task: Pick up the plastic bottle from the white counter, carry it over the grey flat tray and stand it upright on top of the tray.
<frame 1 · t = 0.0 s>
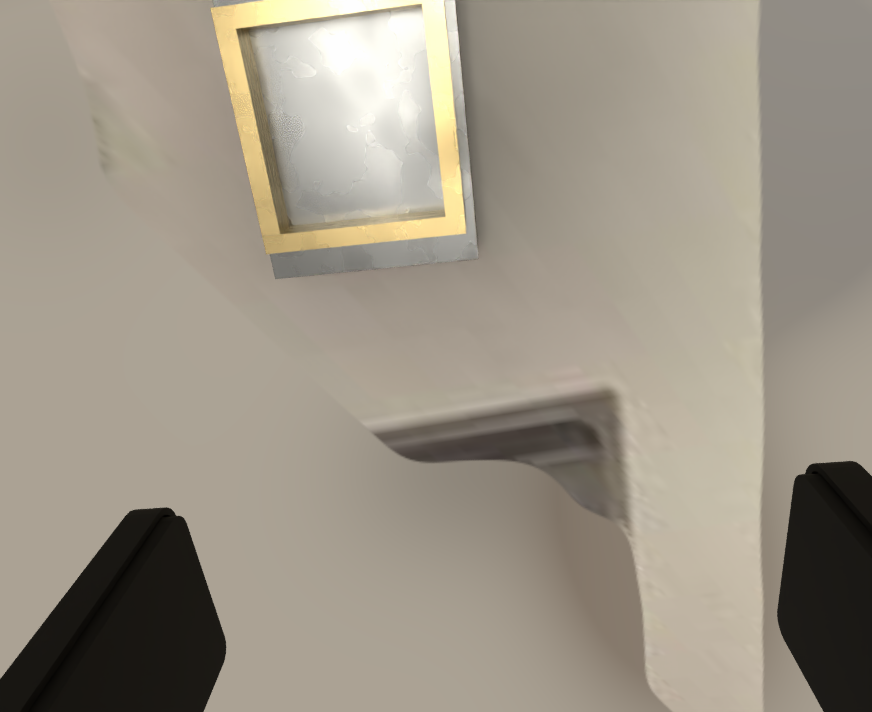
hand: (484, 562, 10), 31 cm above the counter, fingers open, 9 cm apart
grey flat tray: (361, 119, 37), on the counter
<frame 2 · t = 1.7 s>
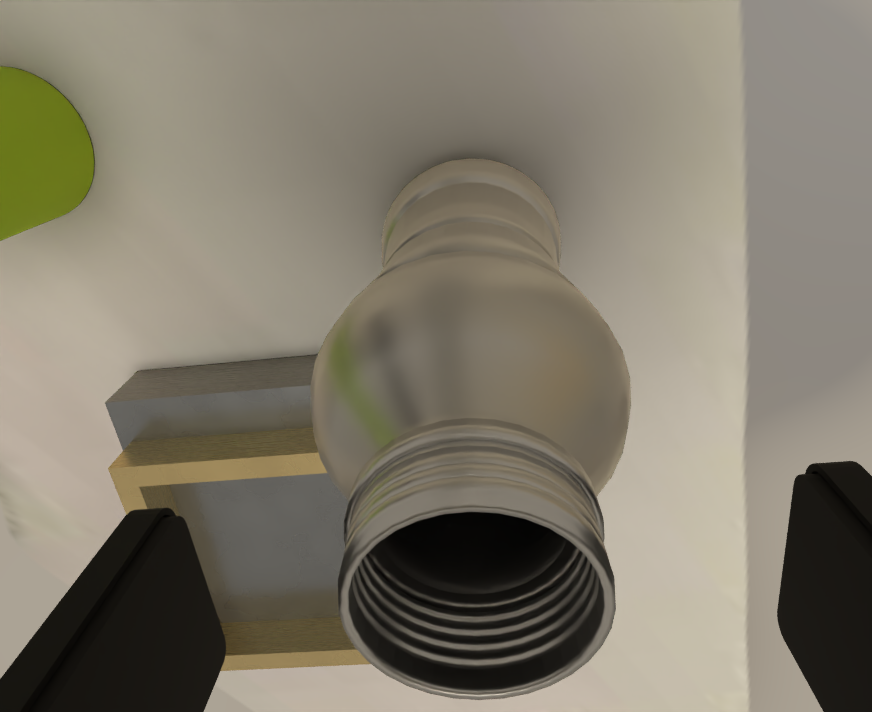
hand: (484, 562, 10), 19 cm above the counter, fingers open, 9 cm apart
soap dispenser: (16, 153, 26), on the counter
plastic bottle: (469, 228, 27), on the counter
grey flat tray: (298, 500, 33), on the counter
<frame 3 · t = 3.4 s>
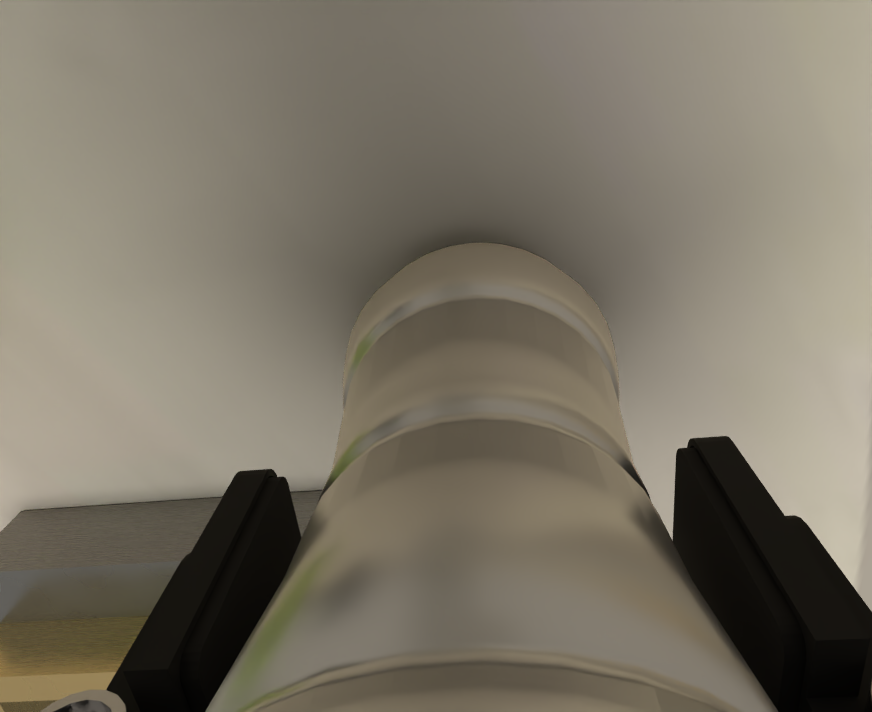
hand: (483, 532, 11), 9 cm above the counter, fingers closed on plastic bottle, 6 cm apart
plastic bottle: (476, 332, 19), on the counter, touching gripper
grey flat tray: (246, 671, 25), on the counter
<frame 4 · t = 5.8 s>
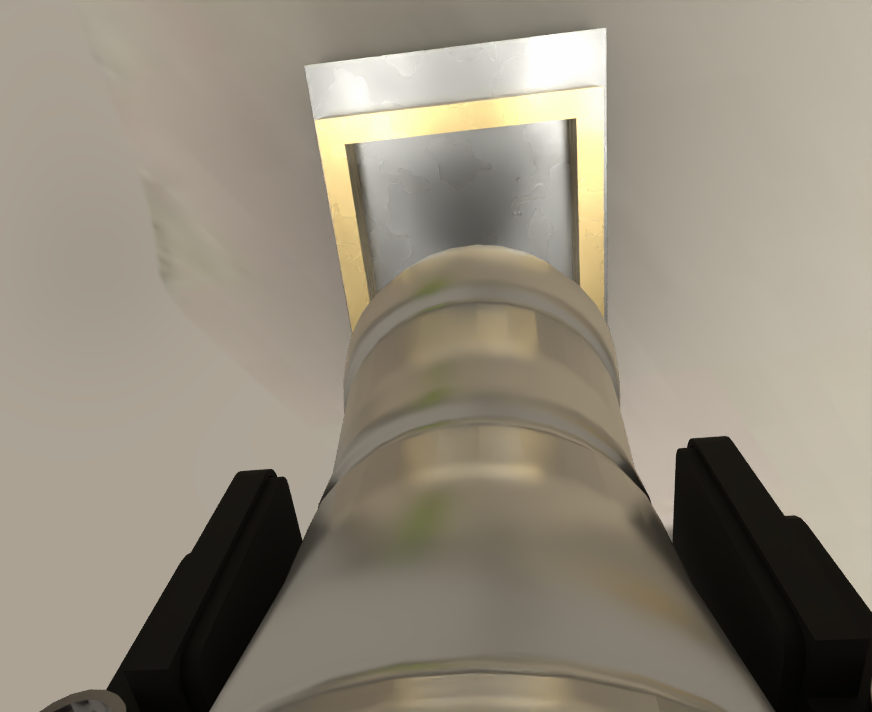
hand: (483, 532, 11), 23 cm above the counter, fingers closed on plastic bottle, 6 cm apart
plastic bottle: (477, 334, 19), point 14 cm above the counter, touching gripper
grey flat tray: (470, 229, 31), on the counter
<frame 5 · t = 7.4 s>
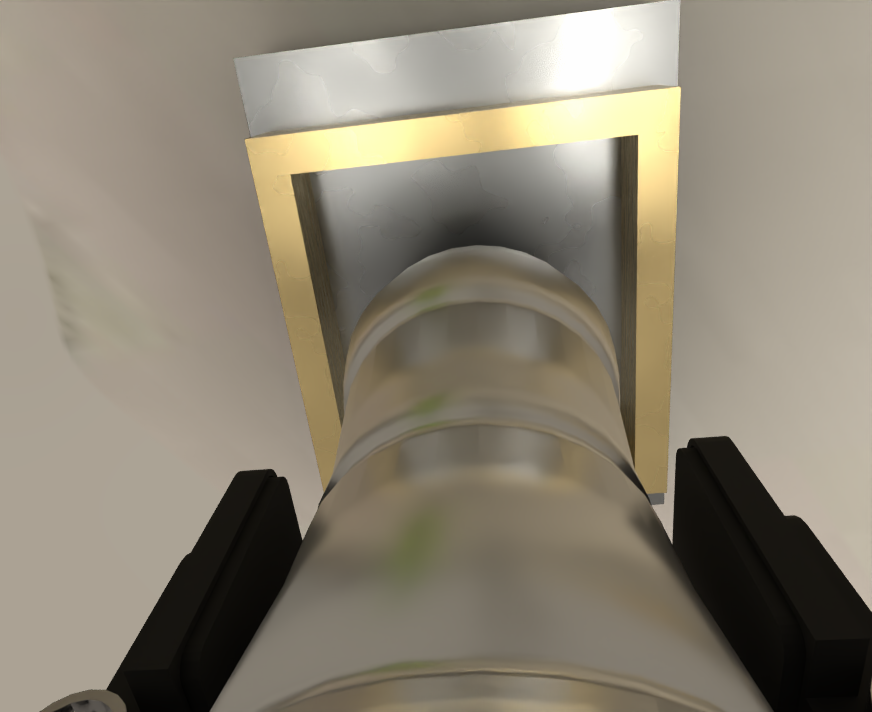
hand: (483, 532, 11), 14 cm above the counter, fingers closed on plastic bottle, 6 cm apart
plastic bottle: (477, 334, 19), point 5 cm above the counter, touching gripper
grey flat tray: (475, 281, 23), on the counter
when the fingers open (13 cm above the counter, at t = 8.5 s): plastic bottle drops 1 cm, resting on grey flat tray.
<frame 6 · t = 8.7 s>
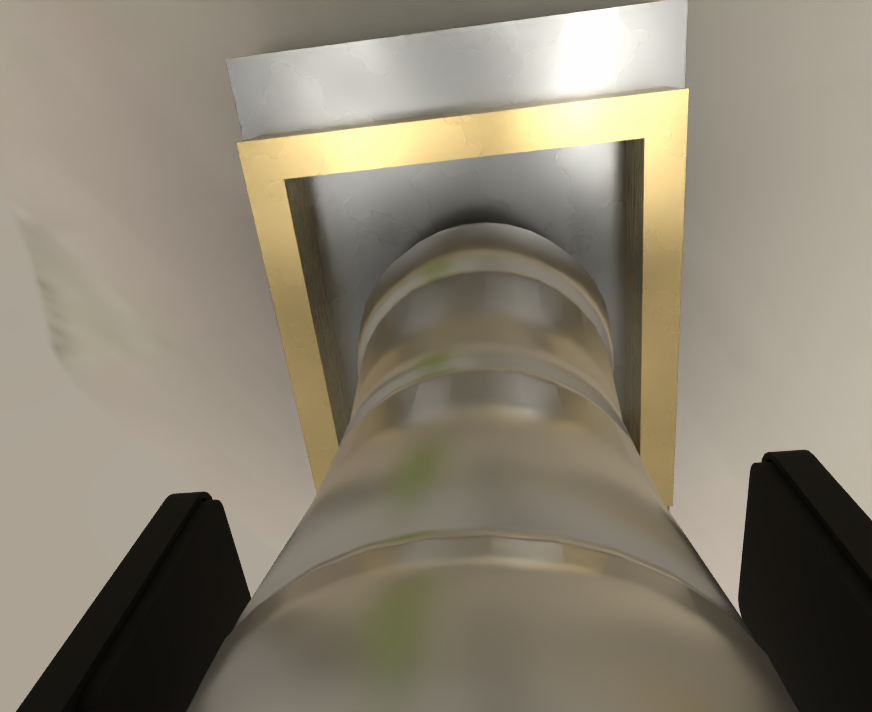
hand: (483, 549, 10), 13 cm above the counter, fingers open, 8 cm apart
plastic bottle: (481, 308, 20), point 3 cm above the counter, touching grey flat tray
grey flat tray: (475, 287, 23), on the counter
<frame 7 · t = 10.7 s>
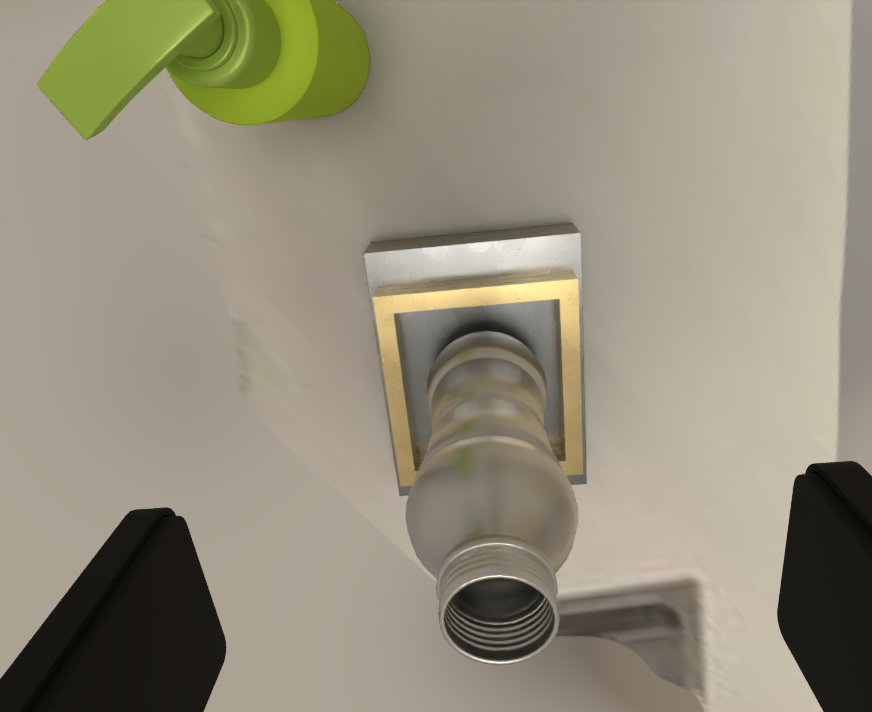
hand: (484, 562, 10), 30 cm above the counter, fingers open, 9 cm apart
soap dispenser: (310, 65, 36), on the counter
plastic bottle: (484, 370, 39), point 3 cm above the counter, touching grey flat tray
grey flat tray: (481, 357, 41), on the counter
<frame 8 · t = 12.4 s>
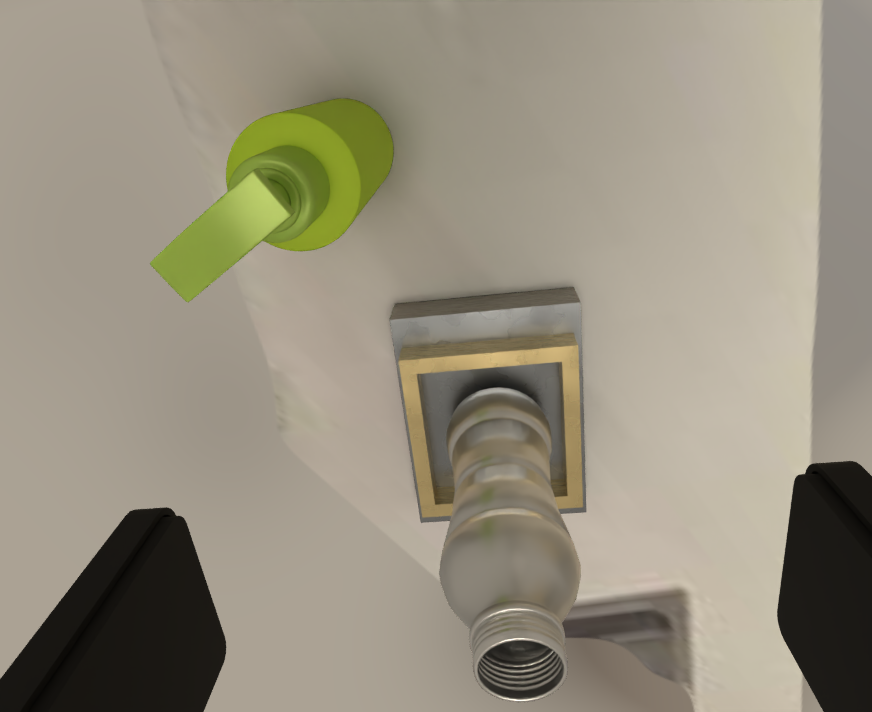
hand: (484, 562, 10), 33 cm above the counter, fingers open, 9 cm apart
soap dispenser: (340, 154, 40), on the counter
plastic bottle: (496, 417, 44), point 3 cm above the counter, touching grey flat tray
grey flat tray: (492, 401, 46), on the counter
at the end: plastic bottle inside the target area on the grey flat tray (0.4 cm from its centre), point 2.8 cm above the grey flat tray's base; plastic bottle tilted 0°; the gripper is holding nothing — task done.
